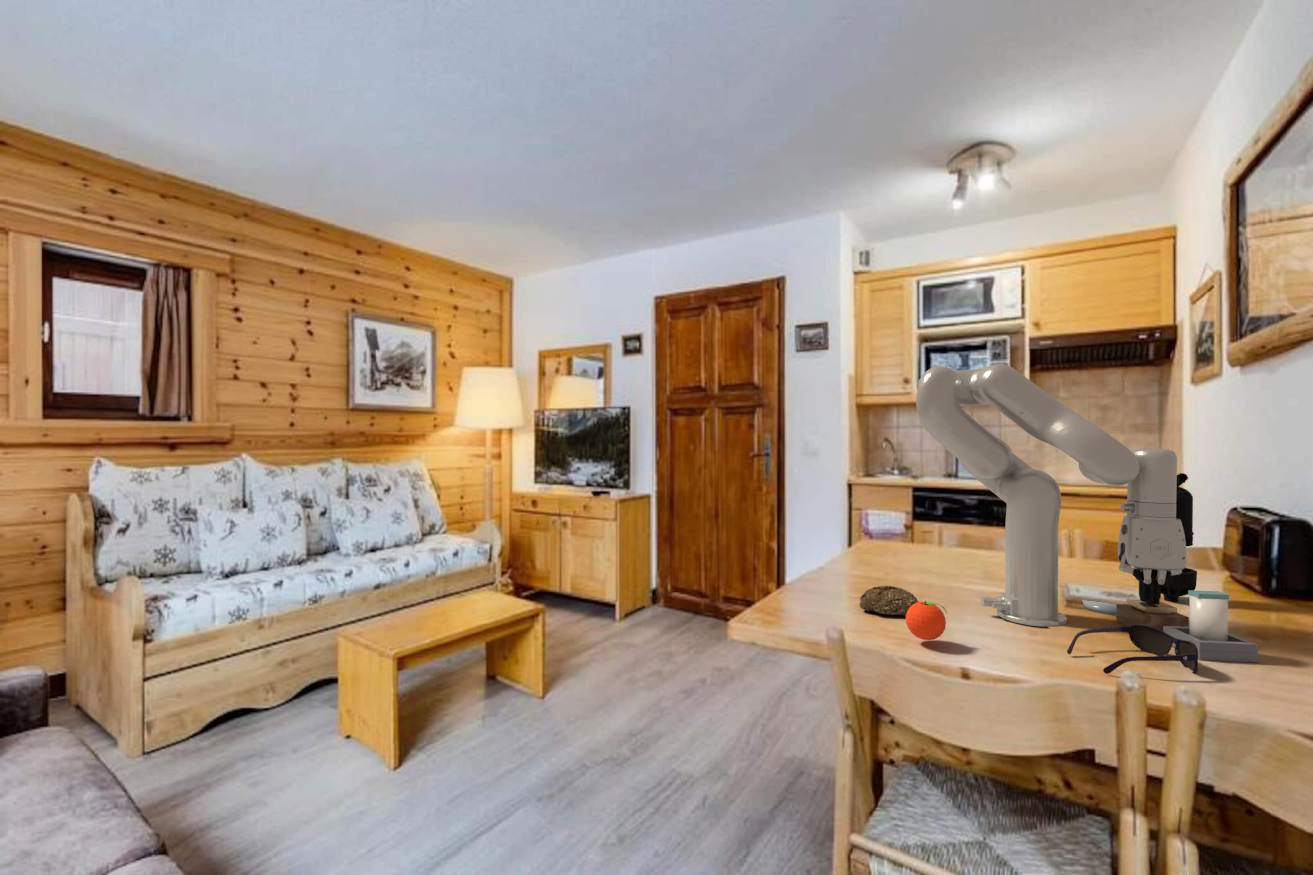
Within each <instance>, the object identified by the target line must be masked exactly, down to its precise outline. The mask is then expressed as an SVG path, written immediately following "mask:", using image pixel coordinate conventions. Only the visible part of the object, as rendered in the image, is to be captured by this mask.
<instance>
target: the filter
mask: <svg viewBox="0 0 1313 875" xmlns="http://www.w3.org/2000/svg"><path fill="white" fill-rule="evenodd" d="M1188 479H1189V477H1188V475H1187V474H1186V473H1181V472H1180V473H1177V487H1176V519H1180V520H1181V522H1182V526H1183V530H1184V534H1185V541H1186V547H1192V546H1194V544H1193V543H1194V539H1193V538H1194V536H1193V535H1195V534H1194V531H1193V529H1194V528H1193V525H1194V524H1193V523H1194V522H1193V520H1194V519H1193V517H1194V516H1193V514H1194V507H1193V506H1194V497H1193V495H1192V493H1191V492H1190V491H1189V490H1188V489H1186V488H1184V487H1181V485H1183V484H1184V483H1186V482H1187V481H1188ZM1197 581H1198V571H1197V570H1195V569H1192V568H1188V567H1185V568H1184V569H1182V573H1181V574H1178V575H1171V576H1169V577H1168V578H1167V579H1166V580H1165V582H1164V584H1162V585H1161V595H1163V600H1164V601H1166V602H1171V603H1178V602H1179V598H1180V597H1183V596H1189V595H1188V590H1194V591H1196V588H1197Z"/></svg>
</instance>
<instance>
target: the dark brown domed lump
mask: <svg viewBox="0 0 1313 875" xmlns="http://www.w3.org/2000/svg"><path fill="white" fill-rule="evenodd" d="M917 602H920V601H919V600H918V598H917V597H916V596H915V595H914V594H913V593H912V592H910V591H908V590H907V589H903V588H901V587H898V586H893V585H879V586H878V585H877V586H874V587H871V588H869V589H867V590H865V591H864V592H863V594H861V596H860V598H859V607H860V609H862V610H865V611H868V612H875V613H876V614H877V613H878V614H883V615H891V616H897V615H898V616H903V617H904V616H905V617H906V613H907V611H908V609H909V608H910V607H911V606H912V605H914V604H915V603H917Z"/></svg>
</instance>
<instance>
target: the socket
mask: <svg viewBox="0 0 1313 875" xmlns="http://www.w3.org/2000/svg"><path fill="white" fill-rule="evenodd" d="M1163 632H1165V633H1167V634H1168V635H1170V636H1172V637H1174V638H1177V639H1180V640H1186V641H1190V642H1192V643H1194V644H1195V645H1196V647H1197V649H1198V661H1213V662H1214V661H1216V662H1238V663H1239V662H1240V663H1260V653H1259V645H1258V643H1255V642H1253V641H1250V640H1247V639H1245V638H1242V637H1240V636H1237V635H1235V634H1232V633H1229V632H1228V641H1204V640H1200V639H1198V638H1195V637H1193V636H1191V635H1189V627H1180V626H1163ZM1175 646H1176V645H1175V643H1173V644H1172V647H1171V648H1174V649H1175Z"/></svg>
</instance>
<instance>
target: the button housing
mask: <svg viewBox="0 0 1313 875" xmlns="http://www.w3.org/2000/svg"><path fill="white" fill-rule="evenodd" d="M1115 616H1116V618H1115V619H1116V622H1118V623H1121V625H1123V626H1132V625H1146V626H1151V627H1154V628H1157V629H1159V630H1161V631H1163V626H1180V627H1189V616H1186V615H1184V614H1181V613H1179V612H1178V611H1177V612H1171V615H1170V614H1146V613H1143V612H1141V611H1139V610H1137V609H1134V608H1132V605H1130V604H1116V615H1115Z"/></svg>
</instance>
